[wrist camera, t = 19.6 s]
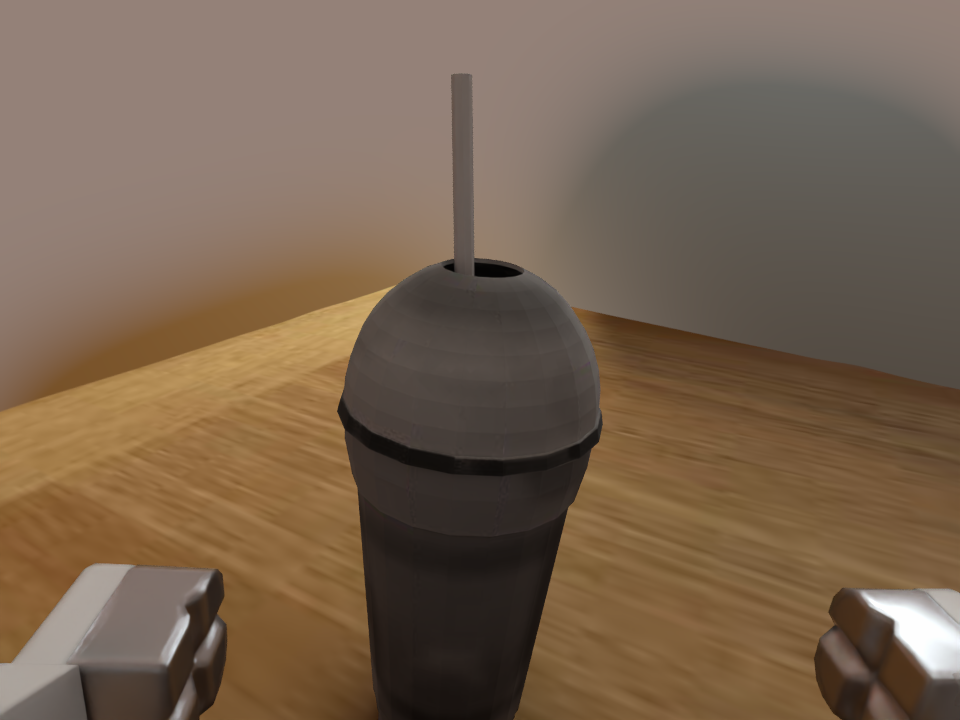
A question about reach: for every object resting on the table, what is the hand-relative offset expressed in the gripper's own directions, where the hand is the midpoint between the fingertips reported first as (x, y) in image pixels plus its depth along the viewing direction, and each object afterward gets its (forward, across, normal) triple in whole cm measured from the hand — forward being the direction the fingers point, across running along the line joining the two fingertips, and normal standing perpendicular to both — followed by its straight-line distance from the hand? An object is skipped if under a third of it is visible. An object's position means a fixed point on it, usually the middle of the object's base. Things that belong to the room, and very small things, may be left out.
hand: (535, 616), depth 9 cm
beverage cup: (+10, 0, +13) cm, 16 cm away
